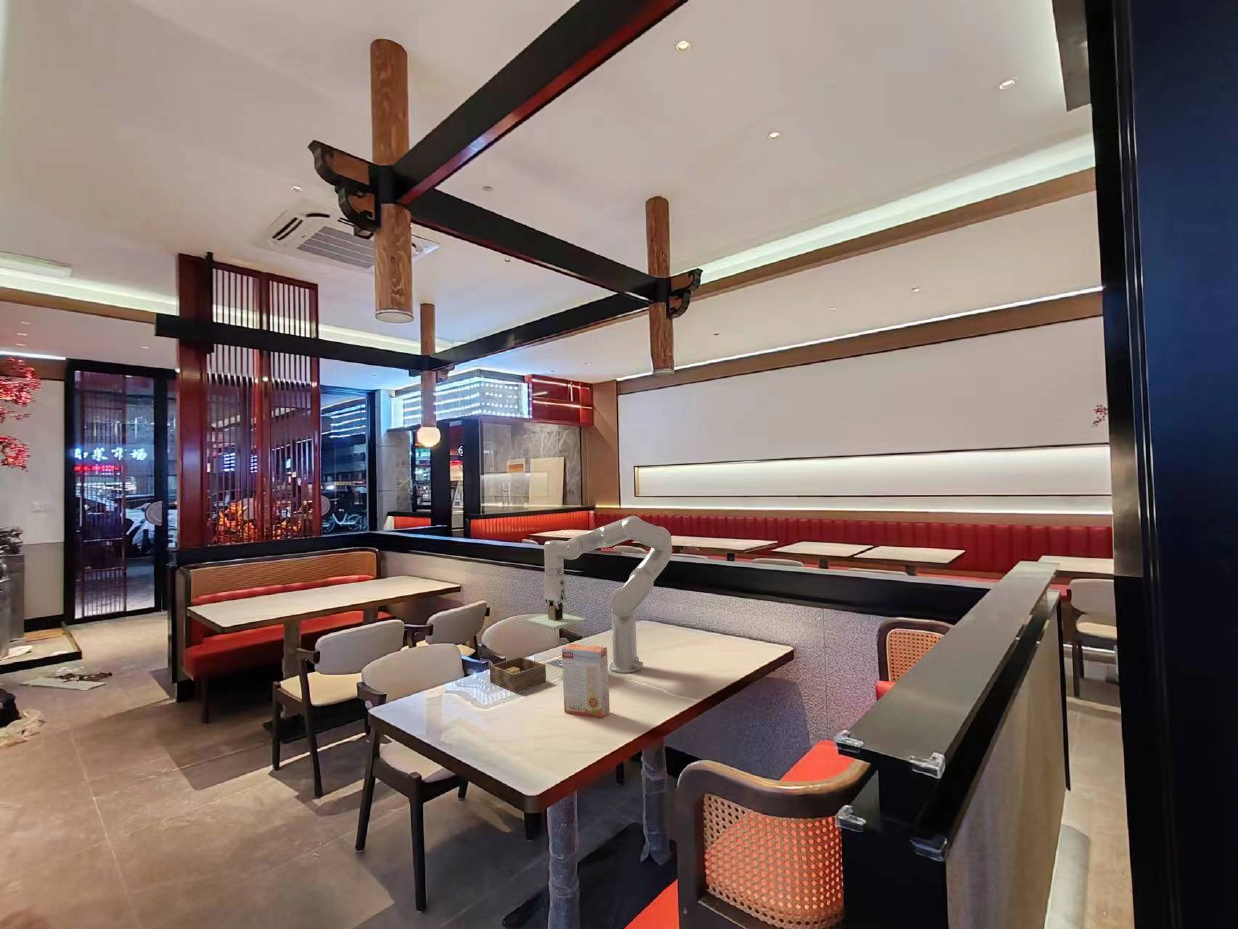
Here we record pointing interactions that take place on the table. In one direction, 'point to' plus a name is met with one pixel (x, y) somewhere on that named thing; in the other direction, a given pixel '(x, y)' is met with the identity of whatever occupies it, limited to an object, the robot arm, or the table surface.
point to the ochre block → (513, 670)
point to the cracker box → (585, 680)
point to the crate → (518, 674)
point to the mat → (556, 663)
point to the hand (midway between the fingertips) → (555, 617)
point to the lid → (555, 620)
